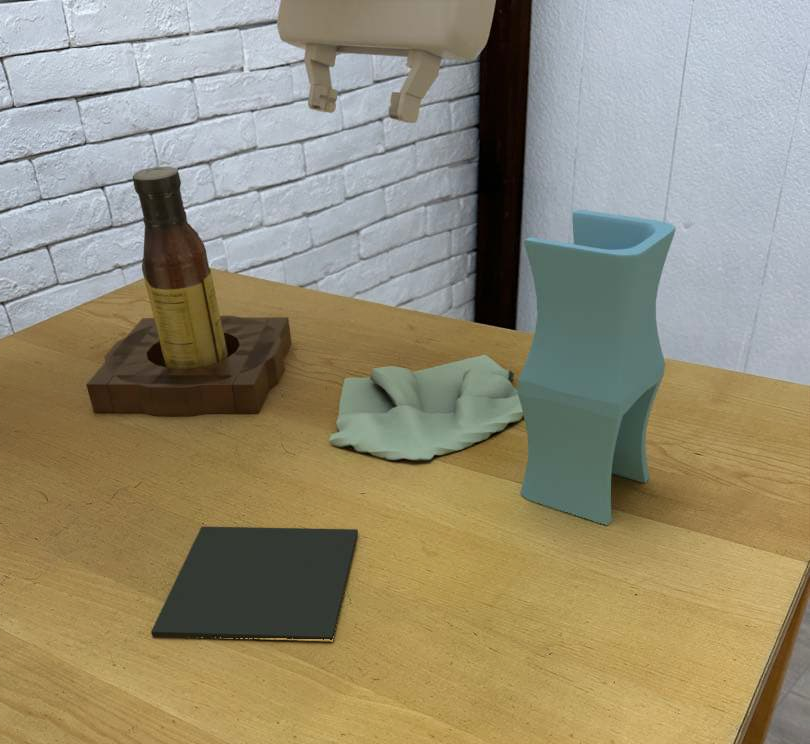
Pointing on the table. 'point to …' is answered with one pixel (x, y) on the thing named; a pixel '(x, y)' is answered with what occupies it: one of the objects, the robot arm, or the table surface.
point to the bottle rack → (193, 372)
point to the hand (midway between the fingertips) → (359, 115)
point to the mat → (259, 584)
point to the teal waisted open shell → (592, 360)
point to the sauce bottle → (177, 275)
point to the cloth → (426, 409)
